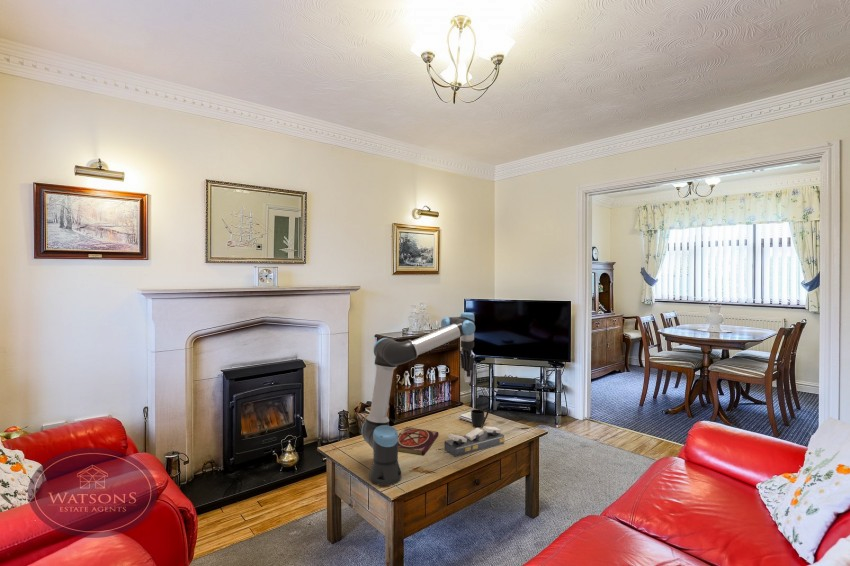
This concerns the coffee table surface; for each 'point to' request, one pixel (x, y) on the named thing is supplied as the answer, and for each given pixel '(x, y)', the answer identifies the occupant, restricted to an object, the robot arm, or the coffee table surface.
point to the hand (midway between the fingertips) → (467, 381)
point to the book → (416, 440)
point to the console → (474, 444)
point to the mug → (478, 417)
